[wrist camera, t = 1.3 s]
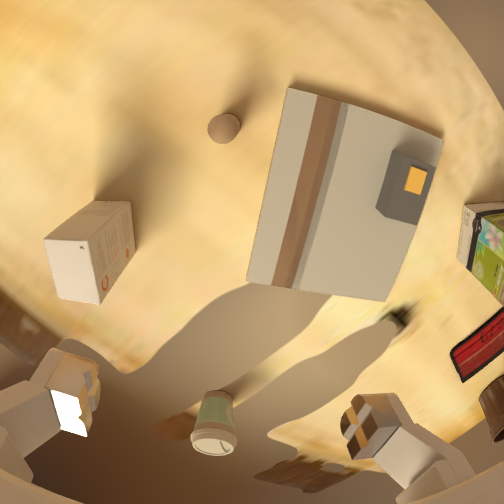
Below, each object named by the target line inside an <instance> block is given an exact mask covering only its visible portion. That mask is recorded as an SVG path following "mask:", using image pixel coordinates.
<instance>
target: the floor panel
mask: <svg viewBox="0 0 504 504" xmlns="http://www.w3.org/2000/svg"><path fill="white" fill-rule="evenodd" d="M443 141H444V140H442V139H440V138H438V137H436V136H433V135H431V134H429V133H427V132H424V131H422V130H420V129H417V128H415V127H412V126H410V125H408V124H405V123H402V122H400V121H397V120H395V119H392V118H389V117H387V116H384V115H381V114H378V113H376V112H373V111H370V110H367V109H364V108H361V107H358V106H355V105H351V104H348V103H345V102H342V101H338V100H335V99H331V98H328V97H324V96H321V95H317V94H313V93H309V92H305V91H301V90H297V89H293V88H287V91H286V95H285V100H284V104H283V109H282V114H281V118H280V123H279V128H278V132H277V137H276V141H275V146H274V151H273V155H272V160H271V165H270V169H269V174H268V178H267V183H266V188H265V192H264V197H263V202H262V206H261V211H260V215H259V220H258V225H257V229H256V234H255V239H254V243H253V248H252V253H251V257H250V262H249V266H248V271H247V276H246V281H248V282H254V283H260V284H267V285H273V286H279V287H285V288H291V289H298V290H304V291H311V292H317V293H324V294H331V295H338V296H345V297H352V298H359V299H366V300H373V301H381V302H385V301H386V299H387V297H388V295H389V293H390V291H391V288H392V286H393V284H394V282H395V279H396V277H397V275H398V273H399V270H400V268H401V266H402V263H403V261H404V258H405V256H406V253H407V251H408V248H409V246H410V243H411V241H412V238H413V236H414V233H415V230H416V228H417V226H416V225H412V224H409V223H405V222H401V221H397V220H394V219H390V218H386V217H384V216H383V215H382V214H381V213H380V212H379V211H378V210H377V209H376V208H375V207H376V204H377V200H378V197H379V194H380V191H381V187H382V184H383V181H384V177H385V174H386V170H387V167H388V163H389V160H390V156H391V152H392V151H395V152H398V153H401V154H404V155H406V156H409V157H412V158H415V159H417V160H420V161H422V162H425V163H427V164H430V165H432V166H434V167H437V164H438V160H439V156H440V153H441V149H442V145H443ZM435 170H436V169H435ZM434 174H435V172H434ZM433 177H434V176H433ZM432 180H433V179H432ZM431 184H432V182H431ZM430 187H431V185H430ZM429 190H430V189H429ZM428 193H429V192H428ZM427 196H428V195H427ZM426 199H427V198H426ZM425 202H426V201H425ZM424 205H425V204H424ZM423 208H424V207H423ZM422 211H423V210H422ZM421 214H422V213H421ZM420 217H421V215H420ZM419 219H420V218H419ZM418 222H419V221H418ZM417 225H418V224H417Z"/></svg>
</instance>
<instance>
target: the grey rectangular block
mask: <svg viewBox="0 0 504 504" xmlns="http://www.w3.org/2000/svg"><path fill="white" fill-rule="evenodd" d="M435 169H436V167H434V166H432V165H430V164H427V163H425V162H422V161H420V160H417V159H415V158H412V157H409V156H406V155H404V154H401V153H398V152H395V151H392V152H391V156H390V160H389V163H388V167H387V170H386V174H385V177H384V181H383V184H382V187H381V191H380V194H379V197H378V200H377V204H376V207H375V208H376V209H377V210H378V211H379V212H380V213H381V214H382V215H383V216H384V217H386V218H390V219H394V220H397V221H401V222H405V223H409V224H412V225H416V226H417V224H418V221H419V218H420V215H421V213H422V210H423V207H424V204H425V201H426V198H427V195H428V192H429V189H430V185H431V182H432V179H433V176H434V172H435Z"/></svg>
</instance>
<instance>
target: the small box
mask: <svg viewBox="0 0 504 504" xmlns="http://www.w3.org/2000/svg"><path fill="white" fill-rule="evenodd" d="M43 240H44V245H45V249H46V253H47V257H48V261H49V265H50V269H51V273H52V277H53V280H54V284H55V287H56V291H57V294H58V298H60V299H66V300H72V301H79V302H86V303H92V304H98V305H100V304H101V303H102V301H103V300H104V298H105V297H106V295H107V293H108V292H109V291H110V289H111V288H112V286H113V285H114V283H115V282H116V280H117V279H118V277H119V276H120V274H121V273H122V271H123V270H124V269H125V267H126V266H127V264H128V263H129V261H130V260H131V259H132V257H133V256H134V254H135V253H136V249H135V240H134V230H133V220H132V209H131V201H92V202H90V203H89V204H88V205H86V206H85V207H84V208H82V209H81V210H79V211H78V212H77V213H75V214H74V215H73V216H71V217H70V218H69V219H68V220H66V221H65V222H64V223H62V224H61V225H60V226H59V227H57V228H56V229H55V230H54V231H52V232H51V233H50V234H49V235H48V236H46V237H45V238H44V239H43Z"/></svg>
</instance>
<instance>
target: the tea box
mask: <svg viewBox="0 0 504 504" xmlns="http://www.w3.org/2000/svg"><path fill="white" fill-rule="evenodd" d="M456 258H457V259H458V260H459V261H460V262H461V263H462V264H463V265H464V266H465V267H466V268H467V269H468V270H469V271H470V272H471V273H472V274H473V275H474V276H475V277H476V278H477V279H478V280H479V281H480V282H481V283H482V284H483V285H484V286H485V288H486V289H487V290H489V291H490V292H491V294H492V295H493V296H494V297H495V298H496V299H497V300H498V301H499V302H500V303H501V304H502V306H503V307H504V202H494V203H481V204H469V205H464V209H463V217H462V224H461V231H460V238H459V245H458V251H457V257H456Z"/></svg>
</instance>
